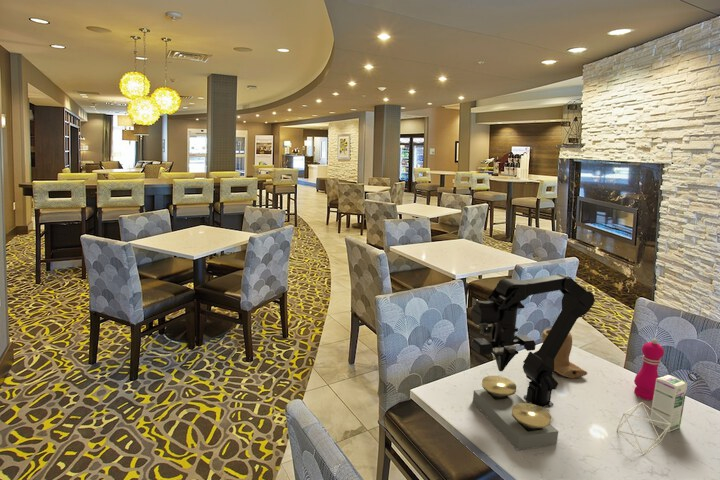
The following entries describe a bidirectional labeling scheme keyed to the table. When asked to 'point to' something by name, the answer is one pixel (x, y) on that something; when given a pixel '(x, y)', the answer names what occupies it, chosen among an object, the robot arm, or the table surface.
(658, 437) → the geometric polyhedron
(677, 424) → the syrup box
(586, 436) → the table surface
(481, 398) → the panel
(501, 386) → the knob
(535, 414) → the knob
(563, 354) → the tan boot
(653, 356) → the pepper mill
